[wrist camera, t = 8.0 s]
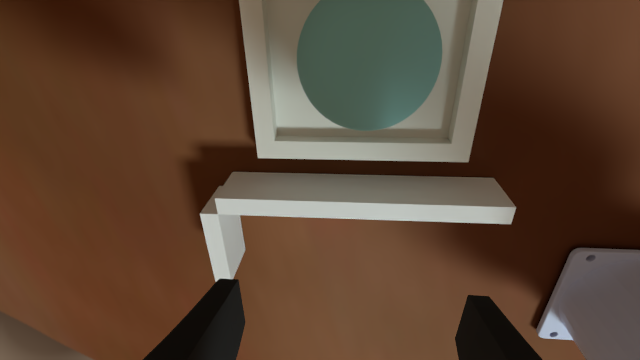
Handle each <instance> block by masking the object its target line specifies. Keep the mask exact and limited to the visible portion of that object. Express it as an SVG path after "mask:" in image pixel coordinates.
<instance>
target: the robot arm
mask: <svg viewBox="0 0 640 360" xmlns="http://www.w3.org/2000/svg"><path fill="white" fill-rule="evenodd" d="M589 255H590V256H589ZM587 256H588V257H587ZM244 326H245V318H244V311H243V305H242V299H241V293H240V287H239V281H238V280H236V279H221V278H220V279H219V280H218V281H217V282H216V283H215V284H214V285H213V286H212V287H211V289H210V290H209V291H208V292H207V293H206V294H205V295H204V296H203V298H202V299H201V300H200V301H199V302H198V303H197V304H196V305H195V307H194V308H193V309H192V310H191V311H190V312H189V313H188V314H187V315H186V316H185V317H184V319H183V320H182V321H181V322H180V323H179V324H178V325H177V326H176V327H175V328H174V329H173V330H172V331H171V332H170V333H169V334H168V335H167V336H166V337H165V338H164V339H163V340H162V341H161V342H160V343H159V344H158V345H157V346H156V347H155V348H154V349H153V350H152V351H151V352H150V353H149V354H148V355H147V356H146V357H145V358H144V359H143V360H236V357H237V354H238V350H239V346H240V342H241V338H242V334H243V330H244ZM536 332H537V334H538V335H539V337H541V338H549V339H565V340H574V341H575V343H576V345H577V346H578V348H579V349H580V351H581V352H582V354H583V356H584V357H585V359H586V360H640V250H628V249H602V248H576V249H574V250H573V251H571V253H570V254H569V257H568V259H567V261H566V264H565V266H564V268H563V270H562V273H561V275H560V277H559V279H558V282H557V284H556V286H555V288H554V291H553V293H552V295H551V297H550V300H549V302H548V304H547V306H546V309H545V311H544V313H543V316H542V318H541V320H540V322H539V325H538V327H537V329H536ZM455 341H456V346H457V352H458V357H459V360H542V359H541V357H540V356H539V355H538V354H537V353H536V352H535V351H534V350H533V348H532V347H531V346H530V345H529V344H528V343H527V341H526V340H525V339H524V338H523V337H522V336H521V334H520V333H519V332H518V331H517V330H516V328H515V327H514V326H513V325H512V324H511V322H510V321H509V320H508V319H507V318H506V316H505V315H504V314H503V313H502V312H501V310H500V309H499V308H498V307H497V306H496V304H495V303H494V302H493V301H492V300H491V298H490V297H489V296H474V295H468V297H467V300H466V304H465V307H464V310H463V314H462V317H461V320H460V324H459V327H458V331H457V334H456V337H455Z"/></svg>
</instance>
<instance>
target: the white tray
mask: <svg viewBox="0 0 640 360" xmlns="http://www.w3.org/2000/svg"><path fill="white" fill-rule="evenodd" d="M319 1H320V0H239V6H240V14H241V22H242V31H243V39H244V47H245V56H246V64H247V72H248V81H249V89H250V97H251V106H252V114H253V122H254V131H255V139H256V147H257V156H258V158H274V159H325V160H376V161H428V162H469V157H470V153H471V148H472V143H473V139H474V134H475V129H476V125H477V120H478V115H479V111H480V106H481V102H482V97H483V92H484V88H485V83H486V78H487V74H488V69H489V64H490V60H491V55H492V51H493V46H494V41H495V37H496V32H497V27H498V23H499V18H500V13H501V9H502V4H503V0H424V1H425V2H426V3H427V5H428V6H429V8H430V9H431V11H432V12H433V15H434V17H435V19H436V21H437V24H438V27H439V30H440V34H441V39H442V62H441V67H440V72H439V75H438V78H437V81H436V83H435V85H434V87H433V89H432V91H431V93H430V94H429V96H428V97H427V99H426V100H425V101H424V103H423V104H422V105H421V106H420V107H419V108H418V109H417V110H416V111H415V112H414V113H413V114H412V115H410V116H409V117H408V118H406V119H405V120H403V121H401V122H400V123H397V124H395V125H393V126H391V127H387V128H384V129H380V130H373V131H359V130H353V129H348V128H345V127H342V126H340V125H337V124H335V123H333V122H332V121H330V120H328V119H327V118H325V117H324V116H323V115H322V114H321V113H319V112H318V110H317V109H316V108H315V107H314V106H313V105H312V103H311V102H310V101H309V99H308V97H307V96H306V94H305V92H304V90H303V87H302V85H301V82H300V79H299V75H298V69H297V47H298V41H299V37H300V34H301V31H302V28H303V26H304V23H305V21H306V19H307V17H308V16H309V14H310V12H311V11H312V10H313V8H314V7H315V6H316V4H317V3H318V2H319Z"/></svg>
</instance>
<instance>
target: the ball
mask: <svg viewBox="0 0 640 360" xmlns="http://www.w3.org/2000/svg"><path fill="white" fill-rule="evenodd" d="M441 62H442V39H441V34H440V30H439V27H438V24H437V21H436V19H435V17H434V15H433V12H432V11H431V9H430V8H429V6H428V5H427V3H426V2H425V1H424V0H320V1H319V2H318V3H317V4H316V6H315V7H314V8H313V10H312V11H311V12H310V14H309V16H308V17H307V19H306V21H305V23H304V26H303V28H302V31H301V34H300V37H299V41H298V47H297V69H298V75H299V79H300V82H301V85H302V87H303V90H304V92H305V94H306V96H307V97H308V99H309V101H310V102H311V103H312V105H313V106H314V107H315V108H316V109H317V110H318V112H319V113H321V114H322V115H323V116H324V117H325V118H327V119H328V120H330V121H332V122H333V123H335V124H337V125H340V126H342V127H345V128H348V129H353V130H359V131H373V130H380V129H384V128H387V127H391V126H393V125H395V124H397V123H400V122H401V121H403V120H405V119H406V118H408V117H409V116H410V115H412V114H413V113H414V112H415V111H416V110H417V109H418V108H419V107H420V106H421V105H422V104H423V103H424V101H425V100H426V99H427V97H428V96H429V94H430V93H431V91H432V89H433V87H434V85H435V83H436V81H437V78H438V75H439V72H440V67H441Z"/></svg>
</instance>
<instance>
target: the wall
mask: <svg viewBox="0 0 640 360" xmlns="http://www.w3.org/2000/svg"><path fill="white" fill-rule="evenodd" d="M515 210H516V206H515V205H514V204H513V202H512V201H511V200H510V198H509V197H508V196H507V195H506V193H505V192H504V191H503V189H502V188H501V187H500V185H499V184H498V183H497V181H496V180H495V179H494V178H482V177H439V176H396V175H353V174H309V173H266V172H232V173H231V175H230V176H229V178H228V179H227V181H226V182H225V184H224V185H223V186H219V187H218V188H217V190H216V191H215V192H214V194H213V195H212V197H211V198H210V200H209V201H208V203H207V204H206V205H205V207H204V208H203V210H202V211H201V213H200V217H201V221H202V225H203V230H204V234H205V238H206V243H207V247H208V251H209V256H210V260H211V264H212V268H213V273H214V277H215V281H216V282H217V281H218V280H219V279H220V278H221V279H233V278H234V275H235V273H236V271H237V268H238V266H239V264H240V261H241V259H242V256H243V254H244V252H245V244H244V238H243V232H242V226H241V220H240V215H254V216H283V217H312V218H341V219H370V220H399V221H429V222H458V223H487V224H511V223H512V220H513V217H514V213H515Z"/></svg>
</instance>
